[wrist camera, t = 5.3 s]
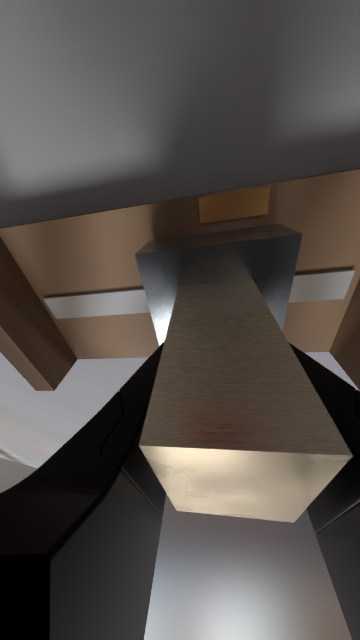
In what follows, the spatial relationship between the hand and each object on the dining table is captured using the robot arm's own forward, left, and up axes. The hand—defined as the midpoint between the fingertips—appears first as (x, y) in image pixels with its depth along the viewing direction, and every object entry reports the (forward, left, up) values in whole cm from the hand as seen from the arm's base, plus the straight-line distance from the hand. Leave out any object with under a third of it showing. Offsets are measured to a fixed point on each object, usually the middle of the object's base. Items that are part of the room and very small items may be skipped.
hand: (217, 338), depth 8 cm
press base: (+2, 0, -6) cm, 6 cm away
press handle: (0, 0, -4) cm, 4 cm away
